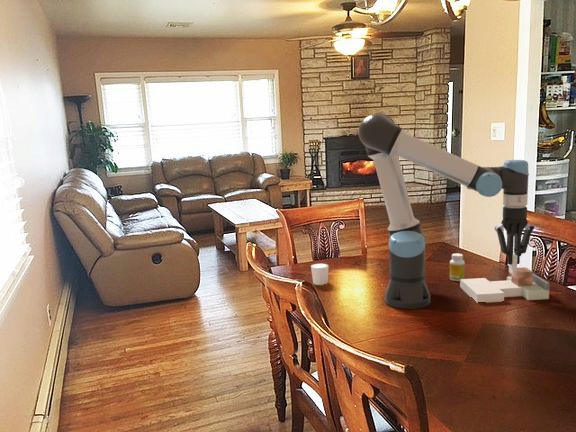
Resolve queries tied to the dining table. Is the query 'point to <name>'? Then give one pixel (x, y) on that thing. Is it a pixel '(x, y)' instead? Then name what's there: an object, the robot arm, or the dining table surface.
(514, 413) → the dining table surface
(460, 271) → the supplement bottle
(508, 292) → the board
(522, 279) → the block
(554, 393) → the dining table surface
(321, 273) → the white cup
